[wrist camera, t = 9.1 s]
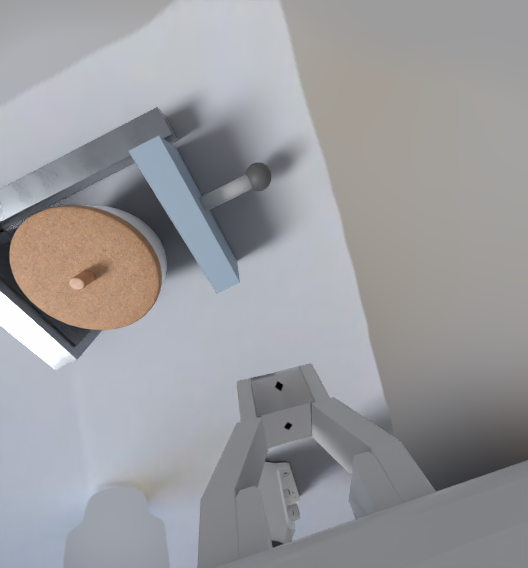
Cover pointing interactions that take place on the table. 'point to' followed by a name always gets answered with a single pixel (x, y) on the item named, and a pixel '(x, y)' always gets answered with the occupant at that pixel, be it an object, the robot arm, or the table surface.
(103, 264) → the lidded jar
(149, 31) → the table surface
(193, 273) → the table surface
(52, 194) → the vise body
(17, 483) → the table surface
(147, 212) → the table surface
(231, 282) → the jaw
